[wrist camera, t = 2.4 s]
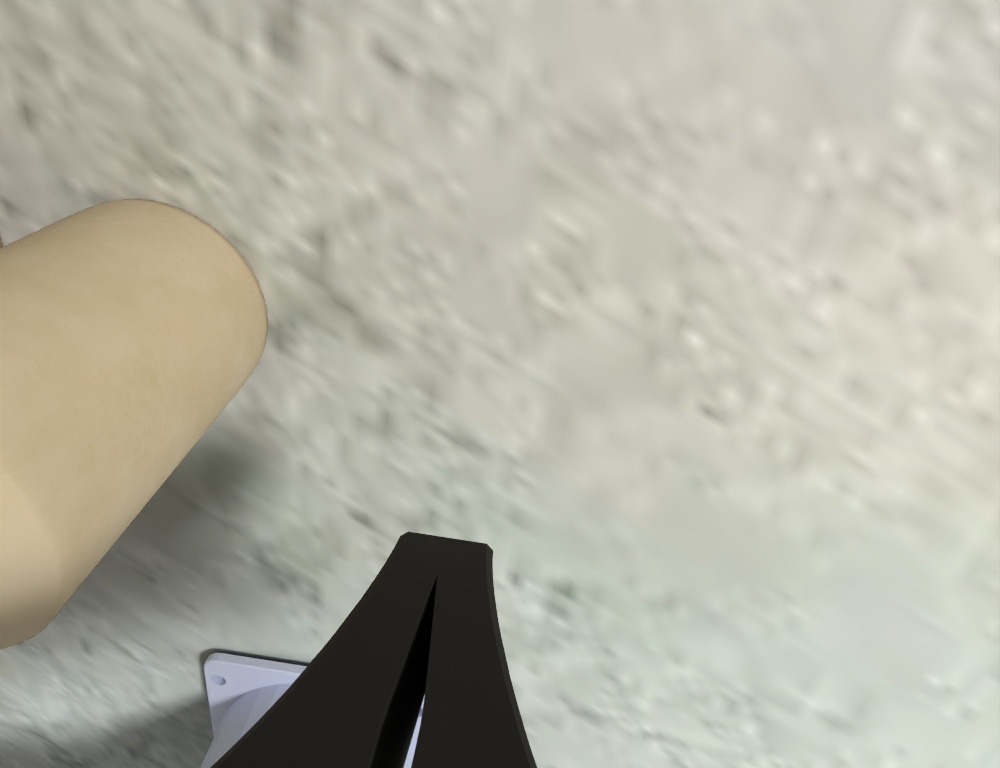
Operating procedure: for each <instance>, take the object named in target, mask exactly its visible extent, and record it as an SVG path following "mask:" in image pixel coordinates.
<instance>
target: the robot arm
mask: <svg viewBox="0 0 1000 768" xmlns="http://www.w3.org/2000/svg"><path fill="white" fill-rule="evenodd" d="M492 558H493V550H492V549H491V548H490V547H489V546H488V545H487V544H484V543H478V542H471V541H465V540H458V539H452V538H445V537H439V536H432V535H426V534H419V533H413V532H407V533H405V534H403V535H402V536H400V538H399V540H398V542H397V544H396V546H395V548H394V549H393V551H392V553H391V554H390V556H389V558H388V559H387V561H386V563H385V564H384V566H383V567H382V569H381V571H380V572H379V574H378V575H377V577H376V578H375V580H374V581H373V582H372V584H371V585H370V587H369V588H368V590H367V591H366V593H365V594H364V595H363V597H362V598H361V600H360V601H359V602H358V604H357V605H356V606H355V608H354V609H353V610H352V611H351V613H350V614H349V615H348V617H347V618H346V619H345V621H344V622H343V623H342V625H341V626H340V627H339V629H338V630H337V631H336V633H335V634H334V635H333V636H332V638H331V639H330V640H329V641H328V643H327V644H326V645H325V646H324V647H323V649H322V650H321V651H320V652H319V653H318V654H317V656H316V657H315V658H314V659H313V660H312V661H311V663H310V664H309V665H308V666H302V665H295V664H289V663H283V662H276V661H270V660H263V659H257V658H251V657H244V656H238V655H232V654H225V653H213V654H211V655H210V656H209V657H208V658H207V660H206V662H205V664H204V674H205V681H206V688H207V695H208V702H209V709H210V716H211V723H212V731H213V738H214V739H213V741H212V743H211V745H210V747H209V749H208V752H207V754H206V756H205V758H204V760H203V762H202V764H201V766H200V768H537V766H536V763H535V760H534V757H533V754H532V751H531V748H530V745H529V742H528V739H527V735H526V732H525V729H524V726H523V722H522V719H521V715H520V712H519V708H518V705H517V701H516V698H515V694H514V690H513V686H512V682H511V679H510V675H509V670H508V666H507V661H506V657H505V652H504V648H503V643H502V639H501V634H500V628H499V623H498V617H497V610H496V603H495V596H494V586H493V569H492Z"/></svg>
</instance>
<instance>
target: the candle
mask: <svg viewBox="0 0 1000 768" xmlns="http://www.w3.org/2000/svg"><path fill="white" fill-rule="evenodd" d="M267 330H268V318H267V309H266V305H265V300H264V296H263V293H262V291H261V288H260V285H259V283H258V281H257V279H256V277H255V275H254V273H253V271H252V269H251V268H250V266H249V265H248V263H247V262H246V260H245V259H244V257H243V256H242V255H241V254H240V253H239V251H238V250H237V249H236V248H235V247H234V246H233V245H232V244H231V243H230V242H229V241H228V240H227V239H226V238H225V237H224V236H223V235H222V234H221V233H220V232H218V231H217V230H216V229H215V228H213V227H212V226H211V225H209V224H208V223H206V222H205V221H203V220H201V219H200V218H198V217H197V216H195V215H193V214H191V213H189V212H187V211H185V210H183V209H180V208H177V207H175V206H172V205H169V204H166V203H161V202H157V201H153V200H143V199H123V200H118V201H112V202H106V203H101V204H99V205H96V206H93V207H90V208H87V209H85V210H83V211H80V212H78V213H76V214H73V215H71V216H69V217H66V218H64V219H62V220H60V221H58V222H56V223H54V224H51V225H49V226H47V227H45V228H43V229H41V230H39V231H37V232H34V233H32V234H30V235H28V236H26V237H24V238H22V239H19V240H17V241H15V242H13V243H11V244H9V245H7V246H4V247H2V248H0V649H3V648H7V647H10V646H13V645H16V644H19V643H22V642H24V641H26V640H28V639H30V638H31V637H33V636H35V635H36V634H38V633H39V632H40V631H41V630H43V629H44V628H45V627H46V626H47V625H48V624H49V623H50V621H51V620H52V619H53V618H54V617H55V615H56V614H57V613H58V612H59V610H60V609H61V608H62V607H63V606H64V604H65V603H66V602H67V601H68V600H69V598H70V597H71V596H72V595H73V593H74V592H75V591H76V590H77V589H78V587H79V586H80V585H81V584H82V582H83V581H84V580H85V579H86V577H87V576H88V575H89V574H90V573H91V571H92V570H93V569H94V568H95V566H96V565H97V564H98V563H99V562H100V560H101V559H102V558H103V557H104V555H105V554H106V553H107V552H108V550H109V549H110V548H111V547H112V546H113V544H114V543H115V542H116V541H117V539H118V538H119V537H120V536H121V534H122V533H123V532H124V531H125V530H126V528H127V527H128V526H129V525H130V523H131V522H132V521H133V520H134V519H135V517H136V516H137V515H138V514H139V512H140V511H141V510H142V509H143V507H144V506H145V505H146V504H147V503H148V501H149V500H150V499H151V498H152V496H153V495H154V494H155V493H156V492H157V490H158V489H159V488H160V487H161V485H162V484H163V483H164V482H165V480H166V479H167V478H168V477H169V476H170V474H171V473H172V472H173V471H174V469H175V468H176V467H177V466H178V464H179V463H180V462H181V461H182V460H183V458H184V457H185V456H186V455H187V453H188V452H189V451H190V450H191V449H192V447H193V446H194V445H195V444H196V442H197V441H198V440H199V439H200V437H201V436H202V435H203V434H204V433H205V431H206V430H207V429H208V428H209V426H210V425H211V424H212V423H213V421H214V420H215V419H216V418H217V417H218V415H219V414H220V413H221V412H222V410H223V409H224V408H225V407H226V406H227V404H228V403H229V402H230V401H231V399H232V398H233V397H234V396H235V394H236V393H237V392H238V391H239V390H240V388H241V387H242V386H243V384H244V383H245V382H246V380H247V379H248V378H249V376H250V375H251V374H252V373H253V371H254V369H255V367H256V366H257V364H258V362H259V360H260V357H261V355H262V352H263V350H264V347H265V343H266V338H267Z"/></svg>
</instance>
